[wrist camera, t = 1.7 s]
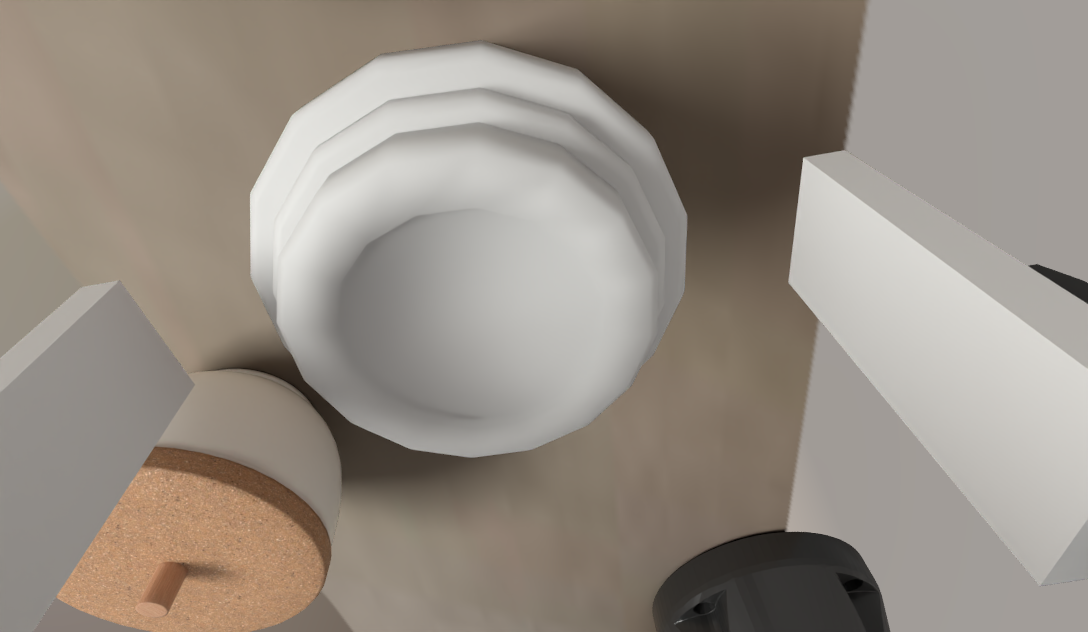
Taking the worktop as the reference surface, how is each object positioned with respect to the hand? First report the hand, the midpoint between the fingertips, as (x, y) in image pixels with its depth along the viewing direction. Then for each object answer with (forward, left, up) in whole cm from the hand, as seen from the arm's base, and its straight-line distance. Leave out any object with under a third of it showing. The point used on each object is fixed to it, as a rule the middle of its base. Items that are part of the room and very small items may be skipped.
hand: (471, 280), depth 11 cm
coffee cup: (0, 0, -11) cm, 11 cm away
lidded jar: (-11, +14, -11) cm, 21 cm away
